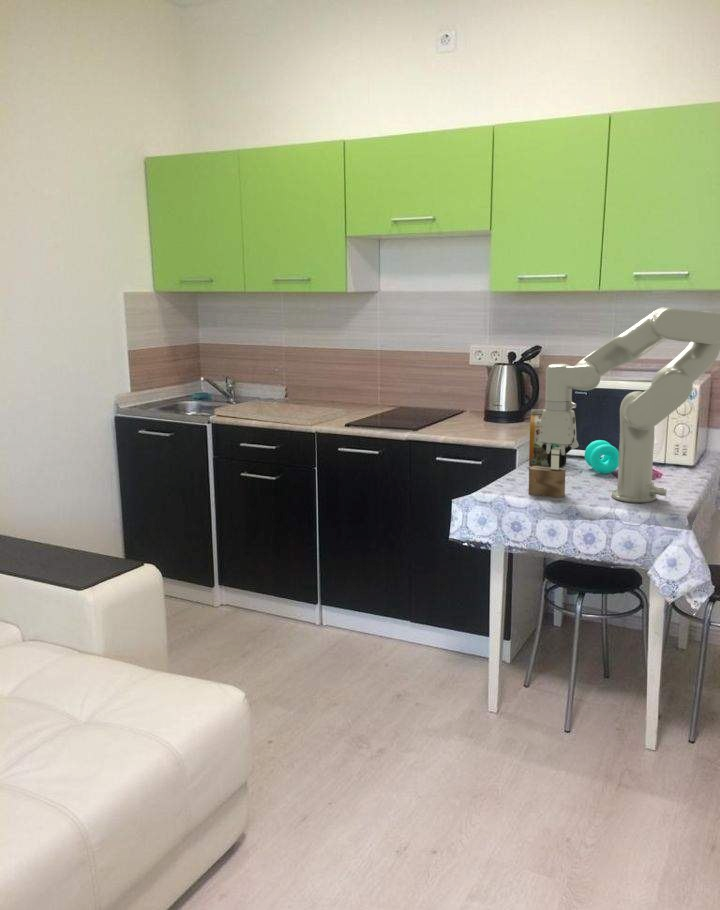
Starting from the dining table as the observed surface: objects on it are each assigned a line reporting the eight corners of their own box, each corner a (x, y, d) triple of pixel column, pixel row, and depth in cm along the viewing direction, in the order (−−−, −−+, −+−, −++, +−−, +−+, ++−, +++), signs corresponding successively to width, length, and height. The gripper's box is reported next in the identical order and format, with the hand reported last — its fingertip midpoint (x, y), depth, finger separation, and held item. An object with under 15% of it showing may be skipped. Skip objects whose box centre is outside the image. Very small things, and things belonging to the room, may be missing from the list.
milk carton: (529, 465, 279) (530, 412, 275) (531, 458, 289) (532, 407, 285) (560, 466, 277) (561, 412, 272) (560, 459, 286) (562, 407, 282)
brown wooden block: (564, 494, 242) (565, 468, 240) (560, 498, 238) (561, 471, 236) (533, 490, 247) (533, 465, 245) (528, 494, 243) (528, 468, 242)
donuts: (590, 475, 264) (591, 445, 262) (583, 467, 274) (584, 439, 272) (620, 474, 264) (622, 445, 262) (612, 467, 273) (613, 438, 271)
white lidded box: (562, 467, 240) (562, 448, 239) (558, 469, 237) (559, 450, 236) (554, 466, 241) (554, 447, 240) (550, 469, 238) (551, 449, 237)
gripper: (589, 405, 234) (586, 466, 238) (536, 402, 242) (534, 461, 246) (581, 409, 228) (579, 472, 232) (527, 406, 236) (526, 466, 240)
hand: (556, 466), depth 239 cm, fingers closed on white lidded box, 2 cm apart
